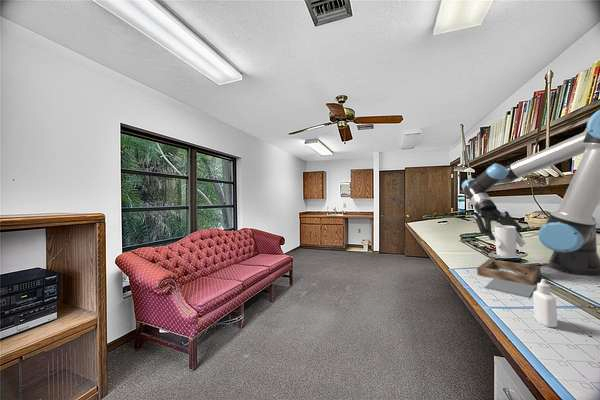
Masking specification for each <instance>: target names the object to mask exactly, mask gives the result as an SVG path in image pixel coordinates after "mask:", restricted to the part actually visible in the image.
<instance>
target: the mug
mask: <svg viewBox="0 0 600 400" xmlns="http://www.w3.org/2000/svg"><path fill="white" fill-rule="evenodd" d="M494 232H495V233H496V235H497V237H498V238H499V240H500V241H501V243H502V246H501V247H500V248H497V246H496V245H495V249H496V250H495V251H496V255H497V256H500V257H504V258H505V257H507V258H514V257H517V242H516V227H515V226H503V225H494Z"/></svg>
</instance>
